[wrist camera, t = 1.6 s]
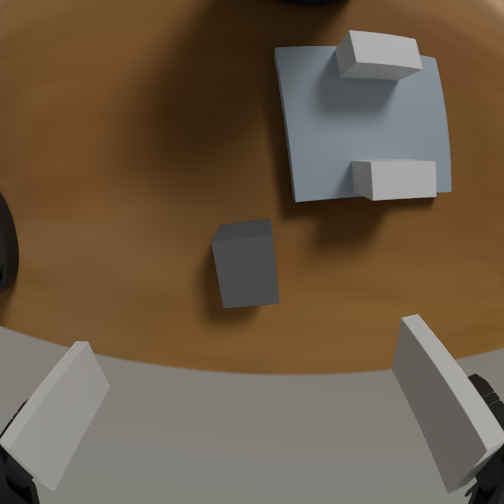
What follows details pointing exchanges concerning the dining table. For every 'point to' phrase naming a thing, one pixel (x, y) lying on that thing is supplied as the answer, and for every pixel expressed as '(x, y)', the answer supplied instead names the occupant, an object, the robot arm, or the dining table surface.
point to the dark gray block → (246, 264)
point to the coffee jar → (313, 2)
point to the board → (363, 119)
